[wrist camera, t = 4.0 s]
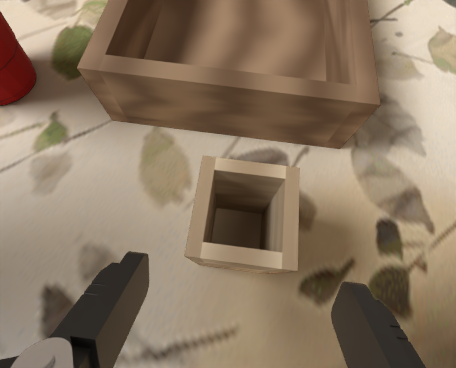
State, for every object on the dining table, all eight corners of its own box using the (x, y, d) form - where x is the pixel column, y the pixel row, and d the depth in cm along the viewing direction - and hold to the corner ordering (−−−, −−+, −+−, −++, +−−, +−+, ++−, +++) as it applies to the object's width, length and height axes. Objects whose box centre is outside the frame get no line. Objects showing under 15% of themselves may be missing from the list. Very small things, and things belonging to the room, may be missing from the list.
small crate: (199, 264, 18) (184, 256, 11) (209, 201, 20) (202, 155, 12) (265, 273, 18) (297, 271, 11) (269, 209, 20) (299, 167, 12)
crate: (112, 120, 22) (76, 67, 17) (164, -26, 30) (152, -94, 25) (339, 148, 22) (380, 104, 16) (332, -6, 30) (357, -71, 24)
